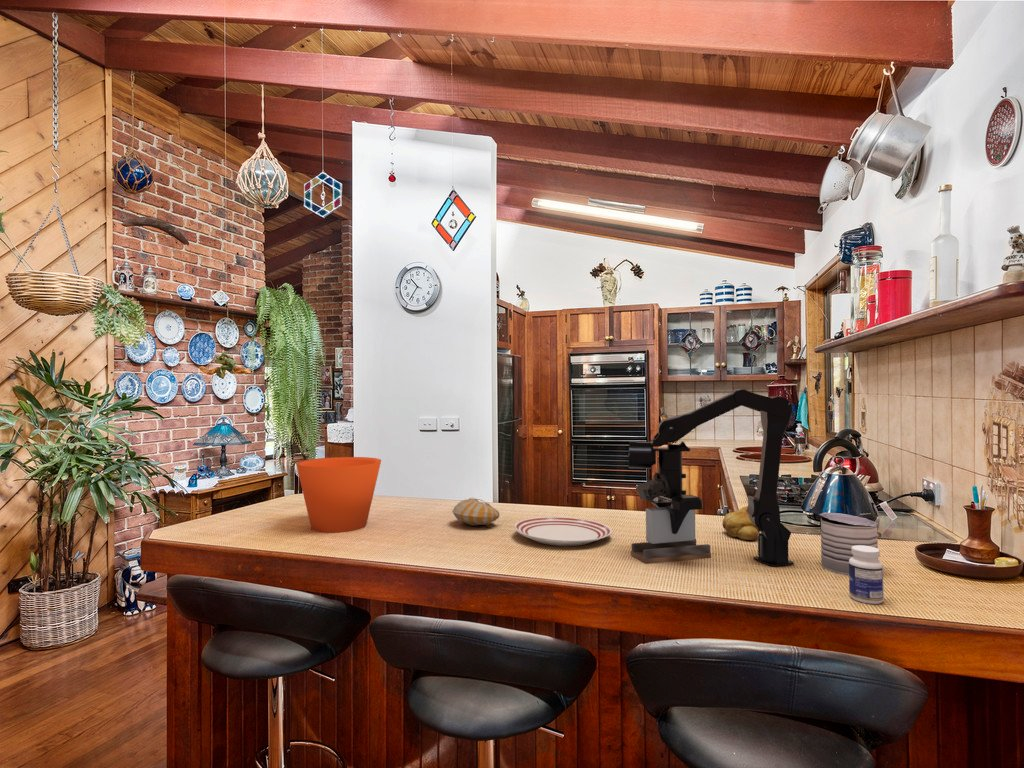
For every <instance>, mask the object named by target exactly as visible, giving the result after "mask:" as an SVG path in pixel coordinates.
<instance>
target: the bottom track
mask: <svg viewBox="0 0 1024 768" xmlns="http://www.w3.org/2000/svg"><path fill="white" fill-rule="evenodd" d="M630 556H632V558H635V559H636V560H638V561H640V562H642V563H644V564H656V563H657V564H658V563H669V562H679V561H686V560H687V561H688V560H690V561H691V560H698V559H709V558H710V559H711V558H712V553H711V544H709V543H707V544H706V543H705V544H697V538H695V540H690V541H679V542H667V543H656V544H652V543H650V542H648V541H646V542H635V543H631V550H630Z"/></svg>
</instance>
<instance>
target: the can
mask: <svg viewBox="0 0 1024 768" xmlns="http://www.w3.org/2000/svg"><path fill="white" fill-rule="evenodd" d="M818 516H821V517H820V546H821V547H820V550H821V551H820V554H821V556H820V558H821V561H820V562H821V563H820V564H821V567H822V568H823V569H824V570H827V571H829V572H832V573H835V574H837V575H838V574H839V575H843V576H844V575H845V576H849V559H850V558H851V557H853V554H852V553H851V547H852V546H856V545H864V546H871V547H875V548H877V549H879V548H878V547H879V546H878V545H879V544H878V543H879V542H878V541H879V540H878V524H879V523H878V522H876V521H873V520H871V519H868V518H865V517H861V516H857V515H851V514H845V513H838V512H837V513H836V512H822V513H820V514H818Z"/></svg>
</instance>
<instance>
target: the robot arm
mask: <svg viewBox="0 0 1024 768" xmlns="http://www.w3.org/2000/svg"><path fill="white" fill-rule="evenodd" d="M739 407H744V408H748V409H750V410H753V411H756V412H759V414H760V421H761V426H762V433H763V434H762V435H763V436H762V445H761V453H760V454H761V455H760V465H759V471H758V472H759V473H758V482H757V489H756V492H755V494H754V495H753V496H751V495H748V496H747V503H748V504H747V506H748V508H747V510H746V512H747V513H748V514H749V519H750V520H751V521H752V523H753V524H754V525H755V526H756V527H757V528H758V530H759V534H758V539H757V555H758V556H753V560H755V561H758V562H760V563H762V564H764V565H767V566H770V567H780V566H791V565H795V561H793V560H790V559H789V541H790V538H791V535H792V532H791V531H790V529H788V528H787V527H786V526H785V525H784V524H783V523H782V522H781V512H780V504H779V499H778V494H777V493H778V483H779V475H780V467H781V465H780V464H781V457H782V447H783V438H784V434H785V432H786V431H787V429H788V426H789V424H790V421H791V417H792V414H793V411H794V410H793V404H792V403H791V401H789V399H787V398H786V397H783V396H766V395H763V394H758V393H755V392H752V391H748V390H747V389H745V388H737V389H734V390H733V391H732V392H730V393H728V394H726V395H723V396H722V397H719V398H717V399H715V400H713V401H711V402H708V403H707V404H705V405H702V406H700V407H698V408H696V409H693V410H692V411H690V412H689V411H688V412H686V413H682V414H678V415H675V416H671V417H667V418H664V419H662V420H661V421H660V422H659V424H658V426H657V432H656V434H655V435H654V436H653V437H652V438H651V441H635V440H634V441H633V440H630V441H629V442H628V445H629V446H628V451H629V452H628V469H644V470H645V469H647V470H648V469H650V470H651V469H652V466H655V465H657V463H658V465H657V466H658V471H657V472H654V474H653V479H650V480H647V481H646V482H643V483H641V484H639V485H636V491H637V493H638V496H639V499H640V500H643V501H645V502H650V503H651V504H652V505H653V506H654V507H655V508H657V507H665V508H666V509H667V510H668V511H669V512H670V519H671V528H672V533H673V534H677V533H678V530H679V528H680V526H681V524H682V522H683V520H684V519H685V517H686V515H687V513H688V512H689V510H695V511H696V510H698V511H699V510H703V509H704V508H703V507H704V506H703V503H704V502H703V500H702V499H701V497H700V496H698V495H697V496H696V495H693V494H687V490H685V489H683V479H686V478H687V473H684V472H683V452H687V453H688V452H690V451H691V448H690V447H688V446H687V445H686V442H685V441H681V442H680V443H678V444H676V442H678V441H680V440H681V439H683V438H684V437H685V436H687V435H688V434H689V433H690V432H692V431H693V430H694V429H696V428H697V427H698V426H700V425H702V424H705V423H707V422H709V421H711V420H714V419H715V418H718V417H720V416H722V415H725V414H726V413H729V412H731V411H733V410H735V409H737V408H739ZM667 443H668V444H667ZM674 443H675V444H674ZM665 444H667V445H666V446H667V447H663V446H664V445H665ZM656 452H657V453H658V455H657V453H656ZM656 455H657V456H658V457H657V456H656ZM657 458H658V460H657ZM656 461H658V462H656Z"/></svg>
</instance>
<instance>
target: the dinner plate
mask: <svg viewBox="0 0 1024 768" xmlns="http://www.w3.org/2000/svg"><path fill="white" fill-rule="evenodd" d="M513 529H514V530H515V531H516V533H518V534H520V535H521V536H524V537H525V538H528V539H530V540H533V541H535V542H537V543H541V544H545V545H549V546H550V545H551V546H557V547H558V546H559V547H574V546H583V545H588V544H591V543H594V542H597V541H600V540H601V539H604V538H605V539H606V538H607V537H609V536H611V534H612V532H613V530H612V528H611V527H610V526H608V525H606V524H604V523H602V522H598V521H595V520H592V519H587V518H579V517H570V516H569V517H568V516H538V517H531V518H525V519H522V520H519V521H517V522H516V523H515V524H514V525H513Z"/></svg>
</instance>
